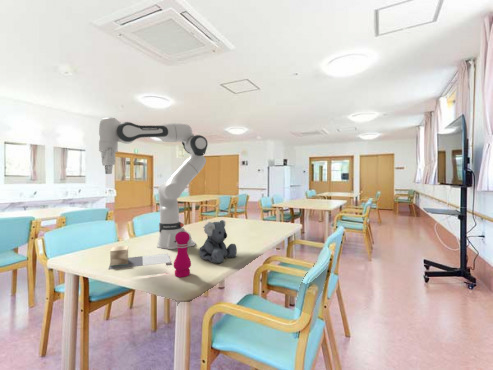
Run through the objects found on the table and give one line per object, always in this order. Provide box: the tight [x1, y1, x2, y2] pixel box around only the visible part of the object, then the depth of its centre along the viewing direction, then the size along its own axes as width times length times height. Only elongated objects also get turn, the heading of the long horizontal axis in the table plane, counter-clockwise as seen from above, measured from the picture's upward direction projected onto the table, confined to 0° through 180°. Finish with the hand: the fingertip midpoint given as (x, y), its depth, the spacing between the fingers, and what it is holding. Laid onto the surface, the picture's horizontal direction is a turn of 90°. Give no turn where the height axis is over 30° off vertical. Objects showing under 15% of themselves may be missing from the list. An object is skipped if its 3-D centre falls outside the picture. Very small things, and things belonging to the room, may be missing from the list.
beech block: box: [109, 245, 129, 267], centre depth 119 cm, size 7×7×7 cm
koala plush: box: [198, 219, 237, 264], centre depth 132 cm, size 17×18×20 cm
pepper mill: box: [173, 227, 192, 278], centre depth 108 cm, size 7×7×20 cm
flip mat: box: [108, 253, 172, 270], centre depth 123 cm, size 26×15×1 cm, turn 113°
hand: (108, 173), depth 136 cm, fingers open, 8 cm apart
